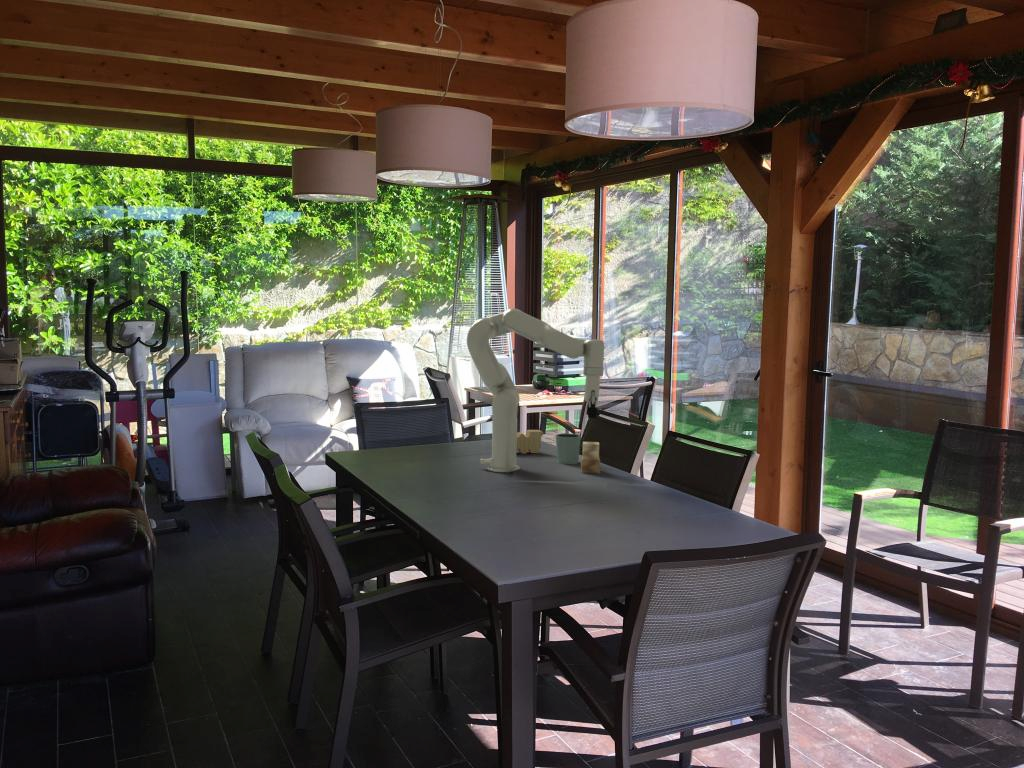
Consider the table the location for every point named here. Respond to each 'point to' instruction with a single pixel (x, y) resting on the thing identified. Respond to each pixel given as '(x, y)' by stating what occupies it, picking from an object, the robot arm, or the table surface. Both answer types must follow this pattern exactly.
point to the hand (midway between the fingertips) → (591, 416)
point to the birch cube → (590, 450)
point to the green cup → (568, 448)
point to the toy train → (529, 441)
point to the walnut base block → (590, 466)
